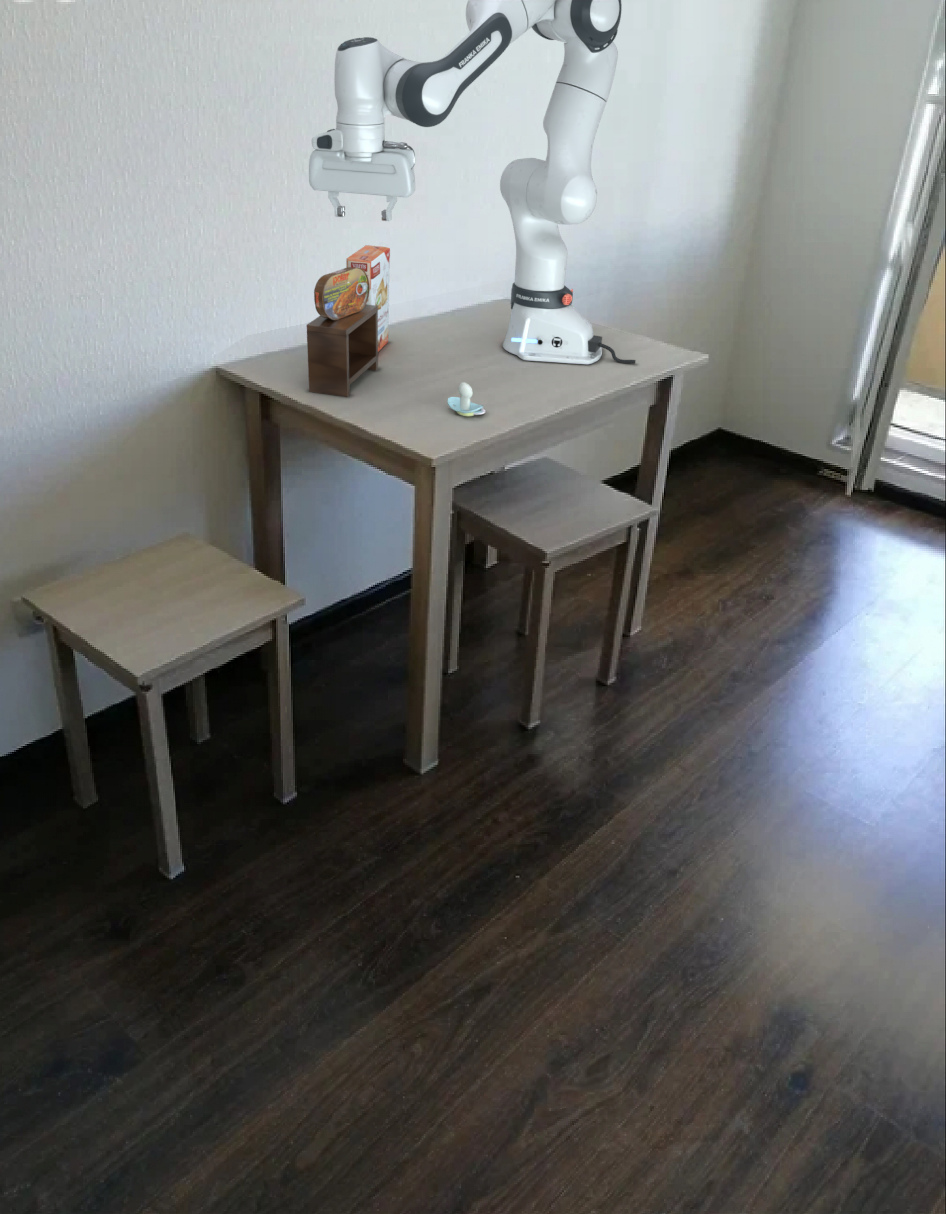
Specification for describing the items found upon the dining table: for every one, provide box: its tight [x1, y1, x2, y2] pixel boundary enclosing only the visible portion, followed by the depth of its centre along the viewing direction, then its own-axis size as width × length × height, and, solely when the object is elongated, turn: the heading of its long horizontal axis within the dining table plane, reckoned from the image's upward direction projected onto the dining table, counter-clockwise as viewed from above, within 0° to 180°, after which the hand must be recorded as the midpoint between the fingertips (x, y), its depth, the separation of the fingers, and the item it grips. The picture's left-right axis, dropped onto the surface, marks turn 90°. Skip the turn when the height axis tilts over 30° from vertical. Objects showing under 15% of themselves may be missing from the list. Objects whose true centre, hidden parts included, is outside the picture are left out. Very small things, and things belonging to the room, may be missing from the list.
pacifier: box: [447, 381, 486, 417], centre depth 187 cm, size 7×6×6 cm
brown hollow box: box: [306, 304, 379, 398], centre depth 197 cm, size 8×18×13 cm, turn 165°
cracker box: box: [345, 244, 391, 353], centre depth 212 cm, size 14×6×21 cm, turn 168°
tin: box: [313, 267, 370, 320], centre depth 191 cm, size 15×3×8 cm, turn 150°
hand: (363, 218), depth 189 cm, fingers open, 8 cm apart
